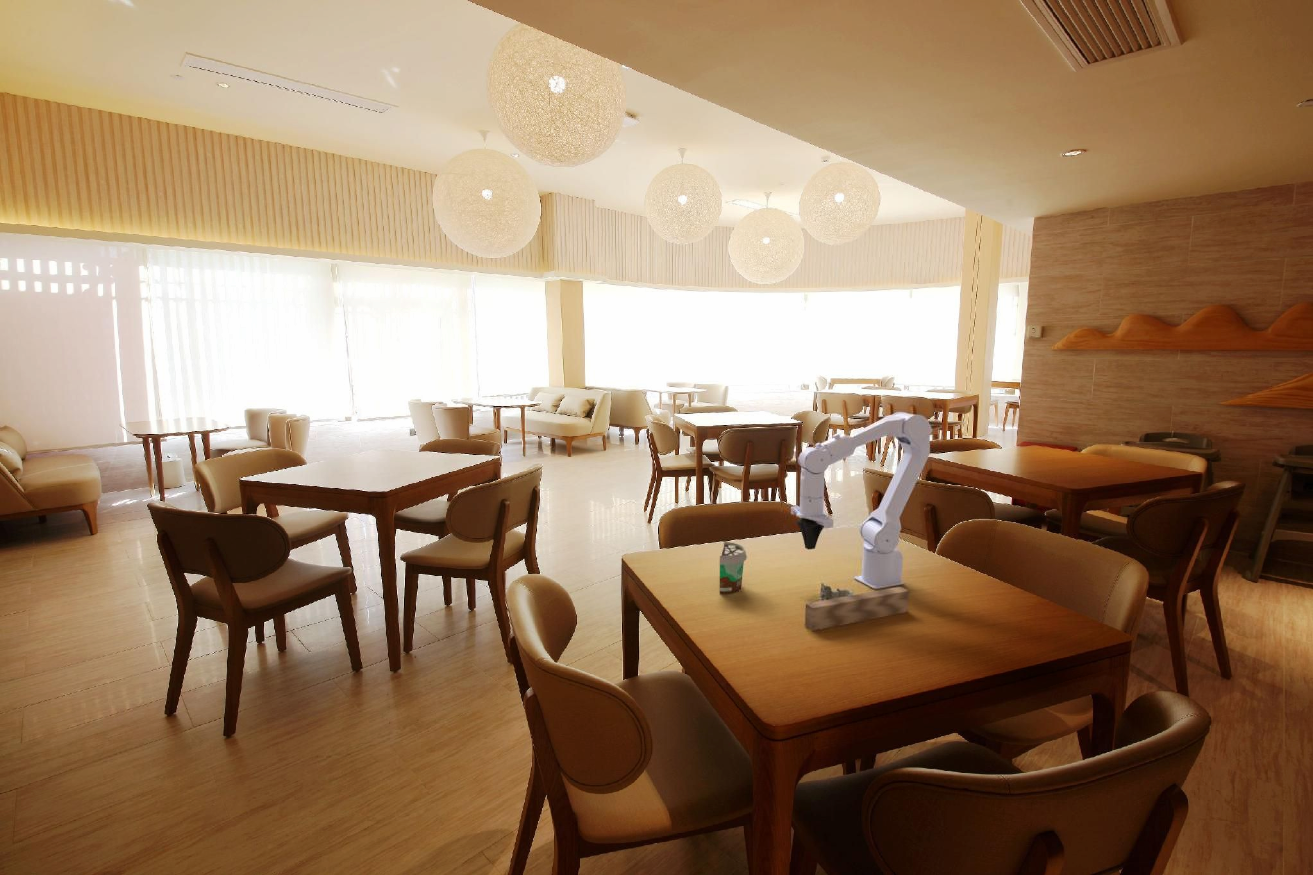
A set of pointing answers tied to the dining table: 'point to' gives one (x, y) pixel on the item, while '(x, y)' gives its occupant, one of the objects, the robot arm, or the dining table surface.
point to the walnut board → (856, 608)
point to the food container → (731, 568)
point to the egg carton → (833, 593)
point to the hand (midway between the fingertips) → (810, 548)
